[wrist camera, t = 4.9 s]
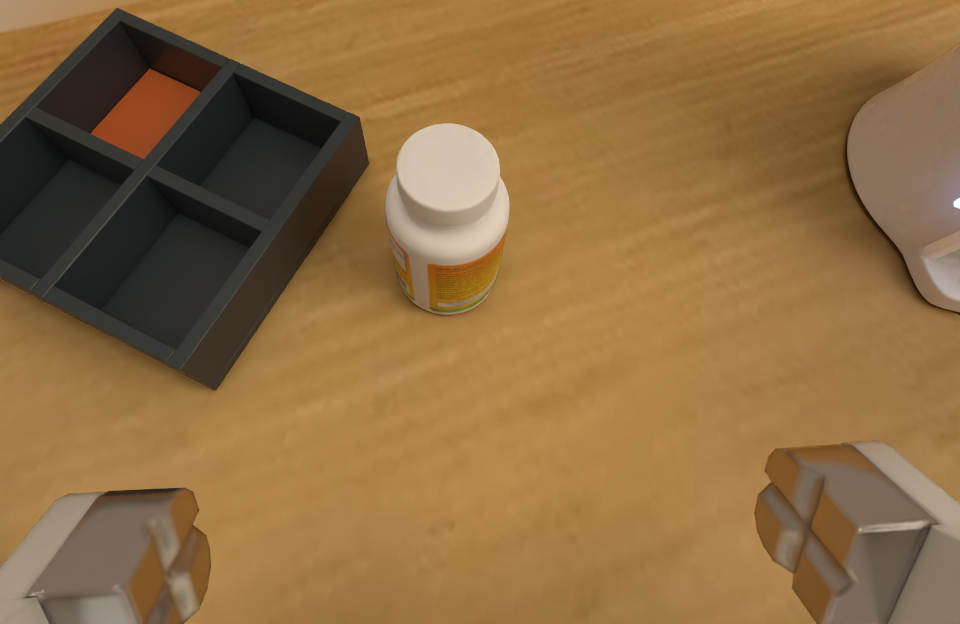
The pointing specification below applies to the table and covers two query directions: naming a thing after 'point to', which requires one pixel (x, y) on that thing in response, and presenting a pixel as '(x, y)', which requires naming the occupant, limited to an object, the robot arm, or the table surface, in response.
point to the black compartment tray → (168, 192)
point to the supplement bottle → (447, 218)
